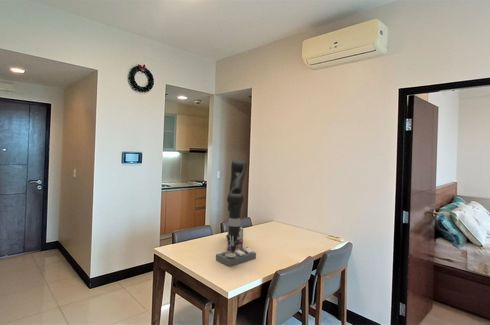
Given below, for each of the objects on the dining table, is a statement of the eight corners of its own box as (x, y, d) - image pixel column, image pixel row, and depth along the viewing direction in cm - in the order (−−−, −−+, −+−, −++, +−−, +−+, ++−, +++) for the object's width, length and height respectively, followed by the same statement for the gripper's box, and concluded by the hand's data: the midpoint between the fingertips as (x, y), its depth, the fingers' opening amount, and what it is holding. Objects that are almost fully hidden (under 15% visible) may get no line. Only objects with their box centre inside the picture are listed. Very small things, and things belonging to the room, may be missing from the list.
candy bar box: (241, 248, 209) (242, 227, 209) (242, 250, 204) (243, 228, 204) (226, 248, 207) (227, 227, 207) (227, 251, 202) (228, 229, 202)
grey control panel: (215, 260, 183) (216, 254, 183) (241, 252, 200) (242, 247, 200) (229, 266, 173) (229, 260, 173) (255, 258, 190) (256, 252, 190)
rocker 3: (242, 250, 190) (243, 247, 190) (246, 248, 193) (247, 246, 193) (248, 254, 186) (249, 251, 186) (252, 253, 189) (253, 250, 189)
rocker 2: (234, 252, 185) (234, 250, 185) (238, 251, 188) (239, 249, 187) (240, 256, 181) (240, 254, 180) (244, 255, 183) (244, 253, 183)
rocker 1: (225, 256, 179) (225, 254, 179) (229, 255, 182) (229, 252, 182) (231, 257, 175) (231, 255, 175) (235, 256, 178) (235, 253, 178)
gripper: (245, 225, 174) (244, 253, 175) (231, 221, 184) (230, 247, 184) (236, 227, 169) (235, 255, 169) (223, 223, 179) (222, 249, 179)
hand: (233, 251), depth 177 cm, fingers closed
